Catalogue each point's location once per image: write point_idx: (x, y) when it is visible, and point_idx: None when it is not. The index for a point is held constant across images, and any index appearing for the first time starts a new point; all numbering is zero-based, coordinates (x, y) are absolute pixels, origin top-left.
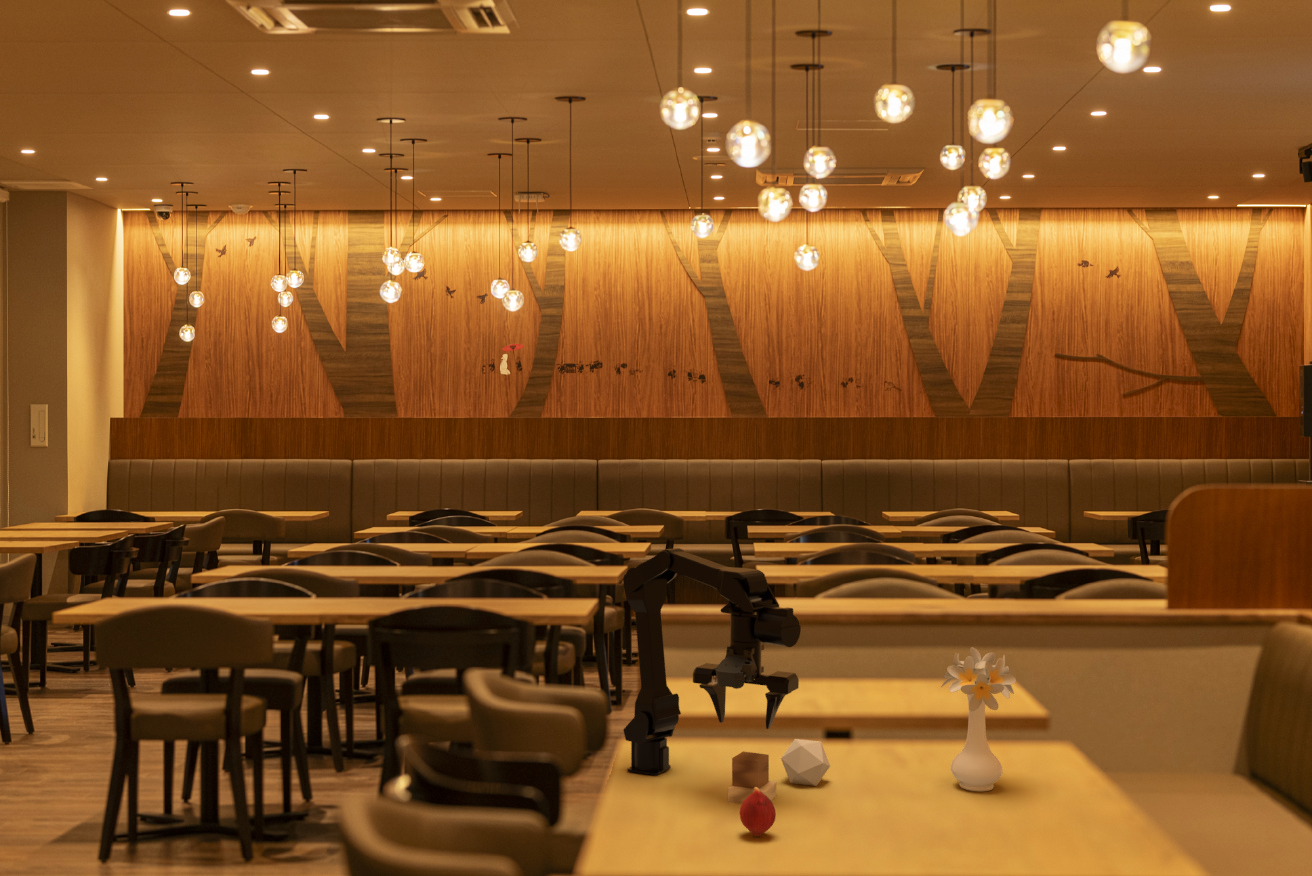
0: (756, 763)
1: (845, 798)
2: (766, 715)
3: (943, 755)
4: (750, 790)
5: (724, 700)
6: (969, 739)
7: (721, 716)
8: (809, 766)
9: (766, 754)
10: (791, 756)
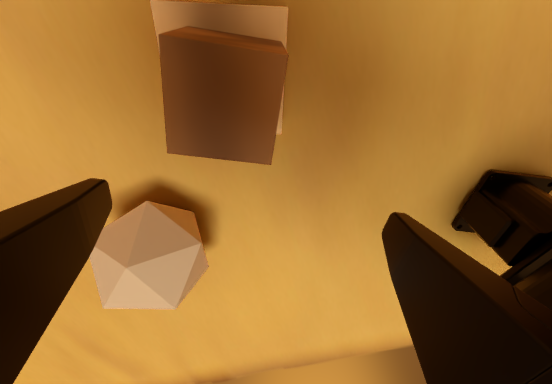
0: (169, 34)
1: (24, 148)
2: (28, 220)
3: (54, 373)
4: (206, 3)
5: (428, 360)
6: None
7: (407, 235)
8: (118, 222)
9: (175, 152)
10: (165, 242)
